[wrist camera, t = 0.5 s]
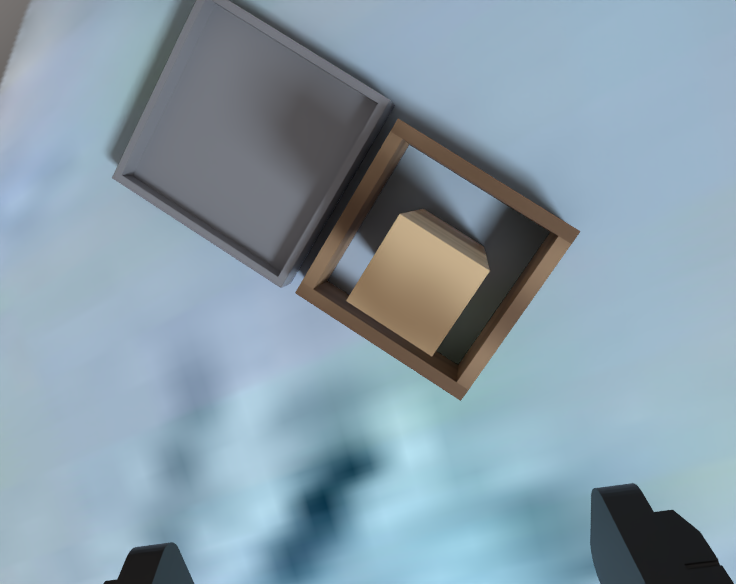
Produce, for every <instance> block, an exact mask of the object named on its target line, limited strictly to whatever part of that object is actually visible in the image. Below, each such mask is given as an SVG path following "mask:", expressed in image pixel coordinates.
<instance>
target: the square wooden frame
mask: <svg viewBox="0 0 736 584" xmlns="http://www.w3.org/2000/svg"><path fill="white" fill-rule="evenodd" d="M409 145H411V146H412V147H414V148H416V149H417V150H419V151H420V152H422V153H424V154H425V155H427V156H428V157H430V158H432V159H433V160H435V161H436V162H438V163H440V164H441V165H443V166H444V167H446V168H448V169H449V170H451V171H453V172H454V173H456V174H457V175H459V176H461V177H462V178H464V179H465V180H467V181H469V182H470V183H472V184H473V185H475V186H477V187H478V188H480V189H481V190H483V191H485V192H486V193H488V194H489V195H491V196H493V197H494V198H496V199H498V200H499V201H501V202H502V203H504V204H506V205H507V206H509V207H510V208H512V209H514V210H515V211H517V212H518V213H520V214H522V215H523V216H525V217H526V218H528V219H530V220H531V221H533V222H534V223H536V224H538V225H539V226H541V227H543V228H544V229H546V230H547V231H549V232H550V233H549V235H548V236H547V237H546V239H545V240H544V242H543V243H542V245H541V246H540V248H539V249H538V250H537V252H536V253H535V255H534V256H533V258H532V259H531V261H530V262H529V263H528V265H527V266H526V268H525V269H524V271H523V272H522V274H521V275H520V276H519V278H518V279H517V281H516V282H515V284H514V285H513V287H512V288H511V289H510V291H509V292H508V294H507V295H506V297H505V298H504V300H503V301H502V302H501V304H500V305H499V307H498V308H497V310H496V311H495V313H494V314H493V315H492V317H491V318H490V320H489V321H488V323H487V324H486V326H485V327H484V328H483V330H482V331H481V333H480V334H479V336H478V337H477V339H476V340H475V341H474V343H473V344H472V346H471V347H470V349H469V350H468V352H467V353H466V354H465V356H464V357H463V359H462V360H461V362H460V363H459V365H457V364H455V363H454V362H452V361H451V360H449V359H448V358H446V357H445V356H443V355H442V354H440V353H438V352H437V351H435V353H434V354H433V356H430V355H429V354H427V353H426V352H424V351H423V350H421V349H420V348H418V347H416V346H415V345H413V344H412V343H410V342H409V341H407V340H406V339H404V338H403V337H401V336H399V335H398V334H396V333H395V332H393V331H392V330H390V329H389V328H387V327H386V326H384V325H383V324H381V323H379V322H378V321H376V320H375V319H373V318H372V317H370V316H369V315H367V314H366V313H364V312H362V311H361V310H359V309H358V308H356V307H355V306H353V305H352V304H350V303H349V302H347V301H346V300H347V299H348V297H349V294H347V293H346V292H344V291H343V290H341V289H339V288H338V287H336V286H335V285H333V284H332V283H330V282H329V281H328V279H329V277H330V276H331V274H332V272H333V271H334V269H335V267H336V266H337V264H338V262H339V261H340V259H341V257H342V256H343V254H344V252H345V251H346V249H347V247H348V246H349V244H350V242H351V241H352V239H353V237H354V236H355V234H356V232H357V231H358V229H359V227H360V226H361V224H362V222H363V221H364V219H365V217H366V216H367V214H368V213H369V211H370V209H371V208H372V206H373V204H374V203H375V201H376V199H377V198H378V196H379V194H380V193H381V191H382V189H383V188H384V186H385V184H386V183H387V181H388V179H389V178H390V176H391V174H392V173H393V171H394V169H395V168H396V166H397V164H398V163H399V161H400V159H401V158H402V156H403V154H404V153H405V151H406V149H407V148H408V146H409ZM579 233H580V231H579V230H577V229H576V228H574V227H572V226H571V225H569V224H568V223H566V222H564V221H563V220H561V219H560V218H558V217H556V216H555V215H553V214H551V213H550V212H548V211H547V210H545V209H543V208H542V207H540V206H539V205H537V204H535V203H534V202H532V201H530V200H529V199H527V198H526V197H524V196H522V195H521V194H519V193H518V192H516V191H514V190H513V189H511V188H510V187H508V186H506V185H505V184H503V183H501V182H500V181H498V180H497V179H495V178H493V177H492V176H490V175H489V174H487V173H485V172H484V171H482V170H480V169H479V168H477V167H476V166H474V165H472V164H471V163H469V162H468V161H466V160H464V159H463V158H461V157H460V156H458V155H456V154H455V153H453V152H451V151H450V150H448V149H447V148H445V147H443V146H442V145H440V144H439V143H437V142H435V141H434V140H432V139H430V138H429V137H427V136H426V135H424V134H422V133H421V132H419V131H418V130H416V129H414V128H413V127H411V126H409V125H408V124H406V123H405V122H403V121H401V120H400V119H397V121H396V123H395V124H394V126H393V128H392V129H391V131H390V133H389V135H388V136H387V138H386V140H385V141H384V143H383V145H382V146H381V148H380V150H379V152H378V153H377V155H376V157H375V158H374V160H373V162H372V163H371V165H370V167H369V168H368V170H367V172H366V174H365V175H364V177H363V179H362V180H361V182H360V184H359V185H358V187H357V189H356V191H355V192H354V194H353V196H352V197H351V199H350V201H349V202H348V204H347V206H346V208H345V209H344V211H343V213H342V214H341V216H340V218H339V219H338V221H337V223H336V225H335V226H334V228H333V230H332V231H331V233H330V235H329V236H328V238H327V240H326V241H325V243H324V245H323V247H322V248H321V250H320V252H319V253H318V255H317V257H316V258H315V260H314V262H313V264H312V265H311V267H310V269H309V270H308V272H307V274H306V275H305V277H304V279H303V281H302V282H301V284H300V286H299V287H298V289H297V291H296V292H295V293H296V294H297V295H299V296H301V297H302V298H304V299H305V300H307V301H308V302H310V303H311V304H313V305H314V306H316V307H317V308H319V309H321V310H322V311H324V312H325V313H327V314H328V315H330V316H331V317H333V318H334V319H336V320H337V321H339V322H340V323H342V324H344V325H345V326H347V327H348V328H350V329H351V330H353V331H354V332H356V333H357V334H359V335H360V336H362V337H364V338H365V339H367V340H368V341H370V342H371V343H373V344H374V345H376V346H377V347H379V348H380V349H382V350H384V351H385V352H387V353H388V354H390V355H391V356H393V357H394V358H396V359H397V360H399V361H400V362H402V363H403V364H405V365H407V366H408V367H410V368H411V369H413V370H414V371H416V372H417V373H419V374H420V375H422V376H423V377H425V378H427V379H428V380H430V381H431V382H433V383H434V384H436V385H437V386H439V387H440V388H442V389H443V390H445V391H446V392H448V393H450V394H451V395H453V396H454V397H456V398H457V399H459V400H460V401H461V400H462V398H463V397H464V396H465V394H466V393H467V391H468V390H469V388H470V387H471V386H472V384H473V383H474V381H475V380H476V379H477V377H478V376H479V374H480V373H481V371H482V370H483V369H484V367H485V366H486V364H487V363H488V362H489V360H490V359H491V357H492V356H493V354H494V353H495V352H496V350H497V349H498V347H499V346H500V345H501V343H502V342H503V340H504V339H505V337H506V336H507V335H508V333H509V332H510V330H511V329H512V328H513V326H514V325H515V323H516V322H517V320H518V319H519V318H520V316H521V315H522V313H523V312H524V311H525V309H526V308H527V306H528V305H529V303H530V302H531V301H532V299H533V298H534V296H535V295H536V294H537V292H538V291H539V289H540V288H541V286H542V285H543V284H544V282H545V281H546V279H547V278H548V277H549V275H550V274H551V272H552V271H553V269H554V268H555V267H556V265H557V264H558V262H559V261H560V260H561V258H562V257H563V255H564V254H565V252H566V251H567V250H568V248H569V247H570V245H571V244H572V243H573V241H574V240H575V238H576V237H577V235H578V234H579Z"/></svg>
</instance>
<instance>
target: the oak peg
mask: <svg viewBox="0 0 736 584" xmlns="http://www.w3.org/2000/svg"><path fill="white" fill-rule="evenodd" d="M489 271H490V269H489V265H488V261H487V257H486V253H485V248H484V246H482V245H481V244H479V243H478V242H476V241H474V240H473V239H471V238H470V237H468V236H466V235H465V234H463V233H462V232H460V231H458V230H457V229H455V228H454V227H452V226H451V225H449V224H447V223H446V222H444V221H443V220H441V219H439V218H438V217H436V216H435V215H433V214H431V213H430V212H428V211H427V210H425V209H424V208H423V209H419V210H414V211H410V212H406V213H401V214H399V216H398V217H397V219H396V221H395V222H394V224H393V226H392V227H391V229H390V230H389V232H388V234H387V235H386V237H385V238H384V240H383V242H382V243H381V245H380V247H379V248H378V250H377V251H376V253H375V255H374V256H373V258H372V260H371V261H370V263H369V264H368V266H367V268H366V269H365V271H364V273H363V274H362V276H361V277H360V279H359V281H358V282H357V284H356V286H355V287H354V289H353V290H352V292H351V294H350V295H349V297H348V299H347V300H346V301H347V302H349V303H350V304H352V305H353V306H355V307H356V308H358V309H359V310H361V311H362V312H364V313H366V314H367V315H369V316H370V317H372V318H373V319H375V320H376V321H378V322H379V323H381V324H383V325H384V326H386V327H387V328H389V329H390V330H392V331H393V332H395V333H396V334H398V335H399V336H401V337H403V338H404V339H406V340H407V341H409V342H410V343H412V344H413V345H415V346H416V347H418V348H420V349H421V350H423V351H424V352H426V353H427V354H429V355H430V356H433V354H434V353H435V351H436V350H437V348H438V347H439V345H440V344H441V342H442V341H443V340H444V338H445V337H446V335H447V334H448V332H449V331H450V329H451V328H452V326H453V325H454V323H455V322H456V320H457V319H458V317H459V316H460V314H461V313H462V311H463V310H464V308H465V307H466V305H467V304H468V303H469V301H470V300H471V298H472V297H473V295H474V294H475V292H476V291H477V289H478V288H479V286H480V285H481V283H482V282H483V280H484V279H485V277H486V276H487V274H488V273H489Z"/></svg>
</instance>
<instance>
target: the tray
mask: <svg viewBox="0 0 736 584" xmlns="http://www.w3.org/2000/svg"><path fill="white" fill-rule="evenodd" d="M394 106H395V105H394V104H393V103H392V102H391V100H389V99H388V98H386V97H384V96H383V95H381V94H380V93H378V92H376V91H375V90H373V89H372V88H370V87H368V86H367V85H365V84H363V83H362V82H360V81H359V80H357V79H355V78H354V77H352V76H350V75H349V74H347V73H346V72H344V71H342V70H341V69H339V68H338V67H336V66H334V65H333V64H331V63H329V62H328V61H326V60H325V59H323V58H321V57H320V56H318V55H317V54H315V53H313V52H312V51H310V50H308V49H307V48H305V47H304V46H302V45H300V44H299V43H297V42H295V41H294V40H292V39H291V38H289V37H287V36H286V35H284V34H283V33H281V32H279V31H278V30H276V29H274V28H273V27H271V26H270V25H268V24H266V23H265V22H263V21H261V20H260V19H258V18H257V17H255V16H253V15H252V14H250V13H249V12H247V11H245V10H244V9H242V8H240V7H239V6H237V5H236V4H234V3H232V2H231V1H229V0H196V2H195V4H194V6H193V8H192V10H191V12H190V14H189V16H188V18H187V21H186V23H185V25H184V27H183V29H182V31H181V33H180V35H179V37H178V40H177V42H176V44H175V46H174V48H173V50H172V52H171V54H170V56H169V59H168V61H167V63H166V65H165V67H164V69H163V71H162V73H161V75H160V78H159V80H158V82H157V84H156V86H155V88H154V90H153V92H152V94H151V97H150V99H149V101H148V103H147V105H146V107H145V109H144V111H143V113H142V116H141V118H140V120H139V122H138V124H137V126H136V128H135V130H134V132H133V135H132V137H131V139H130V141H129V143H128V145H127V147H126V149H125V151H124V154H123V156H122V158H121V160H120V162H119V164H118V166H117V168H116V170H115V173H114V175H113V177H112V178H113V179H114V180H116V181H118V182H119V183H121V184H122V185H124V186H125V187H127V188H128V189H130V190H131V191H133V192H134V193H136V194H137V195H139V196H141V197H142V198H144V199H145V200H147V201H148V202H150V203H151V204H153V205H154V206H156V207H157V208H159V209H160V210H162V211H164V212H165V213H167V214H168V215H170V216H171V217H173V218H174V219H176V220H177V221H179V222H180V223H182V224H184V225H185V226H187V227H188V228H190V229H191V230H193V231H194V232H196V233H197V234H199V235H200V236H202V237H203V238H205V239H207V240H208V241H210V242H211V243H213V244H214V245H216V246H217V247H219V248H220V249H222V250H223V251H225V252H226V253H228V254H230V255H231V256H233V257H234V258H236V259H237V260H239V261H240V262H242V263H243V264H245V265H246V266H248V267H250V268H251V269H253V270H254V271H256V272H257V273H259V274H260V275H262V276H263V277H265V278H266V279H268V280H269V281H271V282H273V283H274V284H276V285H277V286H279V287H280V288H282V287H284V286H286V285H288V284H290V283H291V282H292V280H293V279H294V277H295V275H296V273H297V272H298V270H299V268H300V267H301V265H302V263H303V261H304V260H305V258H306V256H307V255H308V253H309V251H310V249H311V248H312V246H313V244H314V243H315V241H316V239H317V237H318V236H319V234H320V232H321V231H322V229H323V227H324V225H325V224H326V222H327V220H328V219H329V217H330V215H331V213H332V212H333V210H334V208H335V207H336V205H337V203H338V202H339V200H340V198H341V196H342V195H343V193H344V191H345V190H346V188H347V186H348V184H349V183H350V181H351V179H352V178H353V176H354V174H355V172H356V171H357V169H358V167H359V166H360V164H361V162H362V160H363V159H364V157H365V155H366V154H367V152H368V150H369V148H370V147H371V145H372V143H373V142H374V140H375V138H376V136H377V135H378V133H379V131H380V130H381V128H382V126H383V124H384V123H385V121H386V119H387V118H388V116H389V114H390V112H391V111H392V109H393V107H394Z"/></svg>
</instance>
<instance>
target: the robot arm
mask: <svg viewBox="0 0 736 584" xmlns="http://www.w3.org/2000/svg"><path fill="white" fill-rule="evenodd" d="M590 545H591V553H592V558H593V563H594V566H595V570H596V573H597V576H598V578H599V581H600V583H601V584H734V583H733V581H732V580H731V578H730V577H729V575H728V574H727V572H726V571H725V569H724V568H723V566H722V565H721V566H720V564H719V562H718V559H717V557H716V555H715V554H714V552H713V551H712V549H711V548H710V546H709V545H708V543H707V542H706V540H705V539H704V537H703V536H702V534H701V533H700V531H698V530H697V529H696V528H695V527H693V526H692V525H691V524H690V523H688V522H687V521H686V520H685V519H684V518H682V517H681V516H680V515H679V514H677V513H676V512H675V511H674V510H667V511H659V512H653V510H652V508H651V506H650V505H649V503H648V501H647V500H646V498H645V496H644V495H643V493H642V491H641V490H640V488H639V487H638V486H637V485H636V484H634V483H631V484H624V485H616V486H609V487H601V488H594V489H593V490H592V493H591V535H590ZM104 584H194V582H193V580H192V577H191V575H190V573H189V571H188V569H187V566H186V564H185V562H184V560H183V557H182V555H181V553H180V551H179V549H178V547H177V545H176V544H175V543H172V542H171V543H164V544H156V545H149V546H141V547H135V548H133V549H132V550H131V551H130V552H129V554H128V556H127V558H126V560H125V562H124V565H123V567H122V570H121V572H120V575H119V577H118V579H117V580H110V581H105V582H104Z"/></svg>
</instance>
